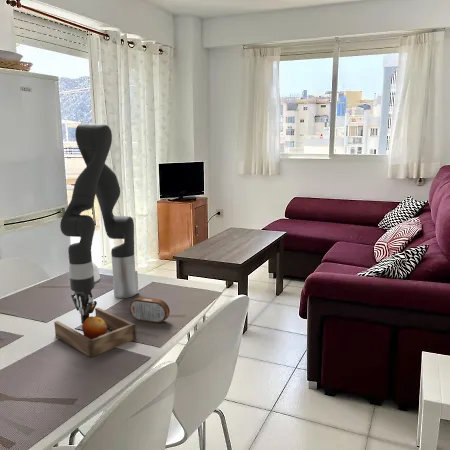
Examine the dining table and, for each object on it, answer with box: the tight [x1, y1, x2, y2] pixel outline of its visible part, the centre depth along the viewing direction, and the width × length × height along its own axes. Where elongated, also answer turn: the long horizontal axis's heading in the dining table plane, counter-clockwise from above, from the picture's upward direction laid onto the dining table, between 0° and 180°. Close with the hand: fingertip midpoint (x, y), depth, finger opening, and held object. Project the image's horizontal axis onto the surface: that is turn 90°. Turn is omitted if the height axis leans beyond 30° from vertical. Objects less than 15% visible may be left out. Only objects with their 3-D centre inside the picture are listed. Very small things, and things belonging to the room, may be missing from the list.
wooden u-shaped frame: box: [54, 307, 137, 358], centre depth 142 cm, size 16×22×5 cm
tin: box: [129, 296, 171, 324], centre depth 154 cm, size 15×3×8 cm, turn 71°
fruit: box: [81, 315, 108, 339], centre depth 142 cm, size 8×8×8 cm
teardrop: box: [92, 260, 101, 283], centre depth 200 cm, size 11×11×12 cm
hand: (85, 323), depth 145 cm, fingers closed
